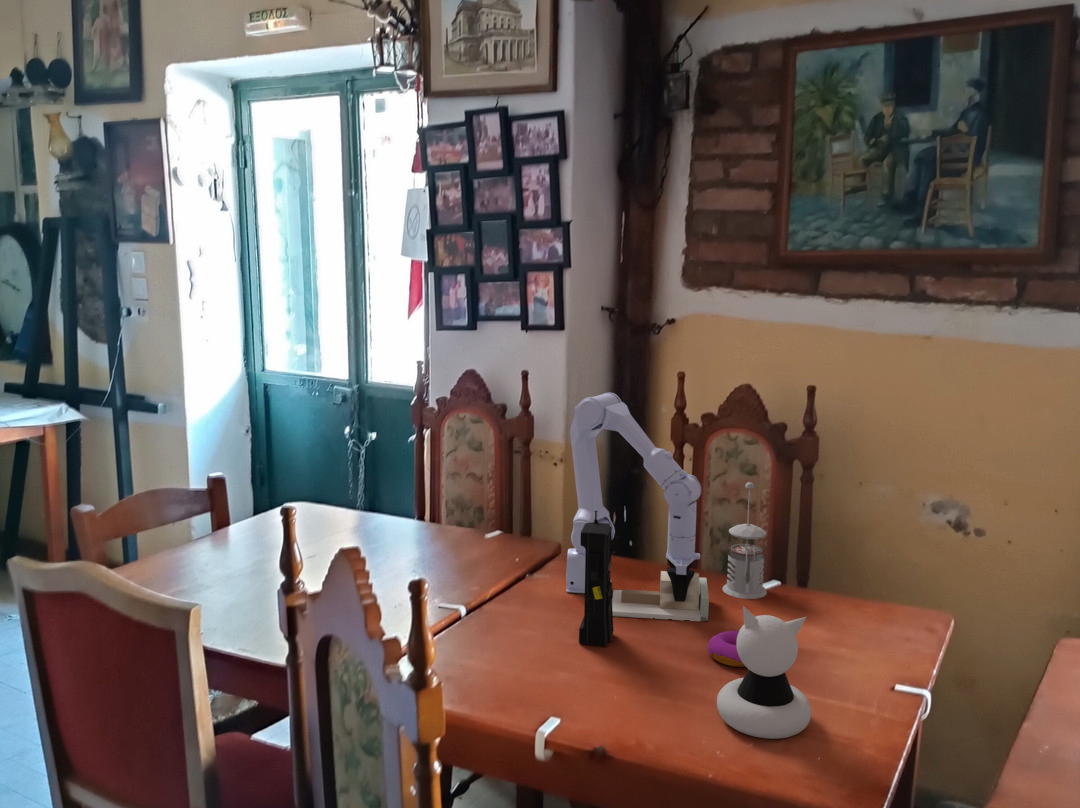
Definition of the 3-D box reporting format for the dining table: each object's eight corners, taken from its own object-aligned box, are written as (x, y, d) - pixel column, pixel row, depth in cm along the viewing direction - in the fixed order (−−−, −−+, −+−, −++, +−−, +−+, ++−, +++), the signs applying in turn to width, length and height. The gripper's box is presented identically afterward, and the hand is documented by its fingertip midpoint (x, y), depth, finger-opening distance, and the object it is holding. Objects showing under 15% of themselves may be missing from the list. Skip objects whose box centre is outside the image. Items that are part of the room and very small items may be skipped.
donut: (737, 643, 173) (738, 621, 172) (776, 664, 164) (777, 640, 163) (697, 655, 167) (698, 632, 167) (735, 677, 159) (736, 653, 158)
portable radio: (609, 650, 169) (611, 523, 165) (577, 647, 170) (579, 521, 166) (614, 632, 177) (616, 511, 172) (584, 630, 178) (586, 509, 174)
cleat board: (610, 615, 185) (610, 592, 184) (613, 594, 197) (614, 572, 196) (707, 621, 182) (708, 598, 181) (705, 599, 194) (706, 577, 193)
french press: (763, 583, 204) (769, 477, 199) (771, 603, 192) (777, 491, 188) (720, 581, 205) (724, 476, 200) (725, 600, 193) (730, 489, 189)
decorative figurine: (793, 697, 152) (800, 586, 148) (823, 744, 137) (831, 622, 134) (707, 698, 151) (712, 586, 148) (728, 745, 137) (734, 622, 133)
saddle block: (659, 607, 186) (660, 580, 185) (659, 597, 192) (660, 571, 191) (698, 610, 185) (699, 582, 184) (697, 599, 191) (698, 573, 190)
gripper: (702, 545, 178) (699, 609, 181) (699, 524, 192) (697, 583, 195) (666, 544, 179) (664, 607, 182) (666, 522, 193) (664, 582, 196)
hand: (679, 595), depth 188 cm, fingers closed on saddle block, 5 cm apart
